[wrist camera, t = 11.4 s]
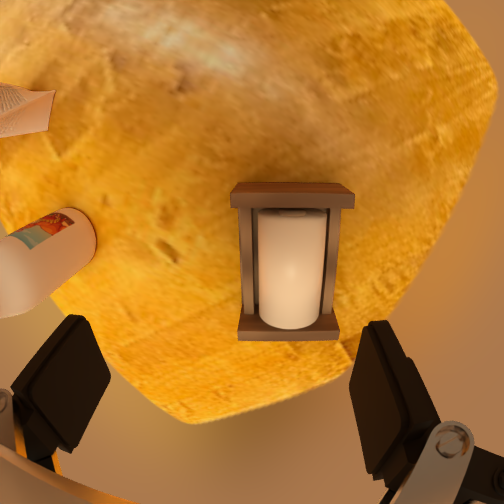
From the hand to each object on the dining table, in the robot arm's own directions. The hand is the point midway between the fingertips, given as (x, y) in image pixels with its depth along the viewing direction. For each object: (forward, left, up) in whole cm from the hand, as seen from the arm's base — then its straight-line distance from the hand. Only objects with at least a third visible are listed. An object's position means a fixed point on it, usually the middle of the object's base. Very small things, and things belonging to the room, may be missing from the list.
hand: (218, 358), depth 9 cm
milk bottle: (+3, -23, -22) cm, 32 cm away
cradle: (+5, +3, -22) cm, 22 cm away
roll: (+5, +3, -21) cm, 22 cm away
